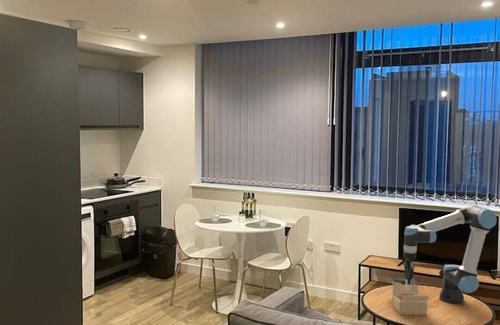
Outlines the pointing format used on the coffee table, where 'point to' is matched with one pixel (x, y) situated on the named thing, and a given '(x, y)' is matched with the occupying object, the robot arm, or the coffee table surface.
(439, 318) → the coffee table surface
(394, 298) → the carton
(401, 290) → the flap far
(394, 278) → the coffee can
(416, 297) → the flap near camera
